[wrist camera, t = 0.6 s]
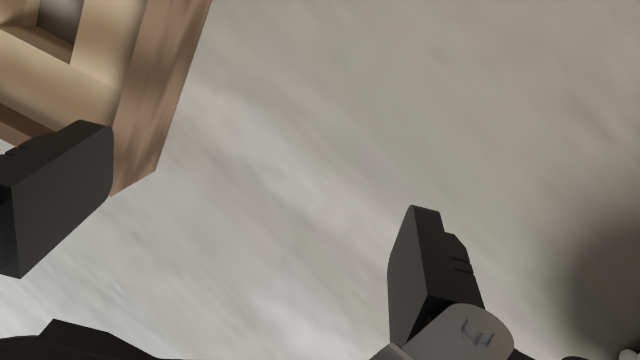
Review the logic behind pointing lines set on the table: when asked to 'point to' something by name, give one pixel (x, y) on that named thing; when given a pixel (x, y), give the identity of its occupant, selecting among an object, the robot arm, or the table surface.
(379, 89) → the table surface
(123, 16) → the box
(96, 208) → the robot arm
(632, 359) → the kitten
